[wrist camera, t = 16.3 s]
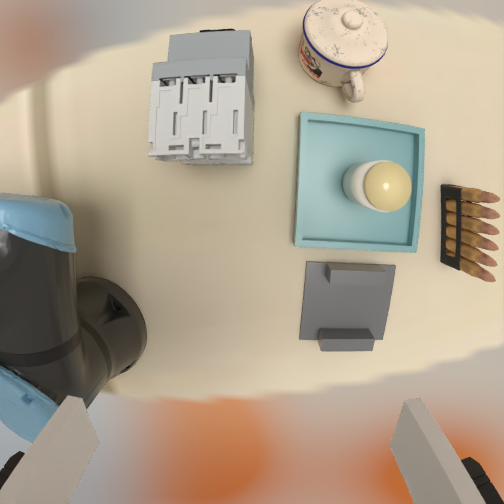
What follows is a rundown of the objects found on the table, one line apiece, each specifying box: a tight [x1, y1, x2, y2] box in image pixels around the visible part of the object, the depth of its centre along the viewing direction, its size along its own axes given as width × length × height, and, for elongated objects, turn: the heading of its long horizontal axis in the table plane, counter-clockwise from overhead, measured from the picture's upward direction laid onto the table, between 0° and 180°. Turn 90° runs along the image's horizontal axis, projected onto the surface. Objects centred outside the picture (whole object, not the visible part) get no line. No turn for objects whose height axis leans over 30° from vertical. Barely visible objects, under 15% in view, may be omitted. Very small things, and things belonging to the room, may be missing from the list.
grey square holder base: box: [299, 261, 396, 351], centre depth 39 cm, size 12×11×4 cm
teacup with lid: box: [299, 0, 388, 102], centre depth 29 cm, size 12×9×12 cm
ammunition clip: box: [440, 185, 500, 282], centre depth 32 cm, size 11×2×12 cm, turn 6°
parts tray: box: [294, 112, 425, 253], centre depth 37 cm, size 16×16×2 cm
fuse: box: [342, 160, 412, 212], centre depth 32 cm, size 5×5×10 cm
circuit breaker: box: [148, 29, 254, 165], centre depth 29 cm, size 8×14×15 cm, turn 179°
